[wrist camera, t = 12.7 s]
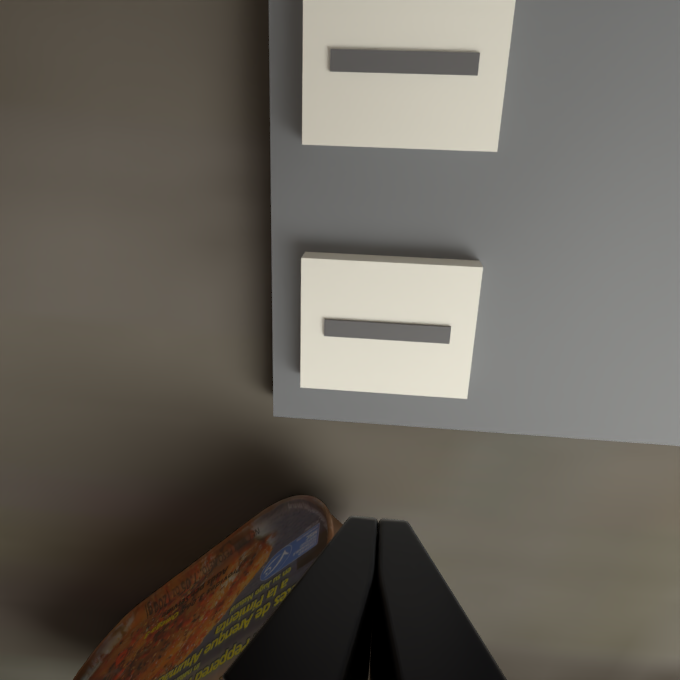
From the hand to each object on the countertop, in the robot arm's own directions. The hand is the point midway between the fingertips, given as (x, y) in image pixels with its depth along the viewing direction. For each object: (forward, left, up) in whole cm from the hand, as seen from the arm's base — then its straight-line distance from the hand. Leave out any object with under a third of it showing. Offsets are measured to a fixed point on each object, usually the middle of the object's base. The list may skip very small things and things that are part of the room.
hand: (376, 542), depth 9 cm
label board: (+3, +6, -11) cm, 13 cm away
